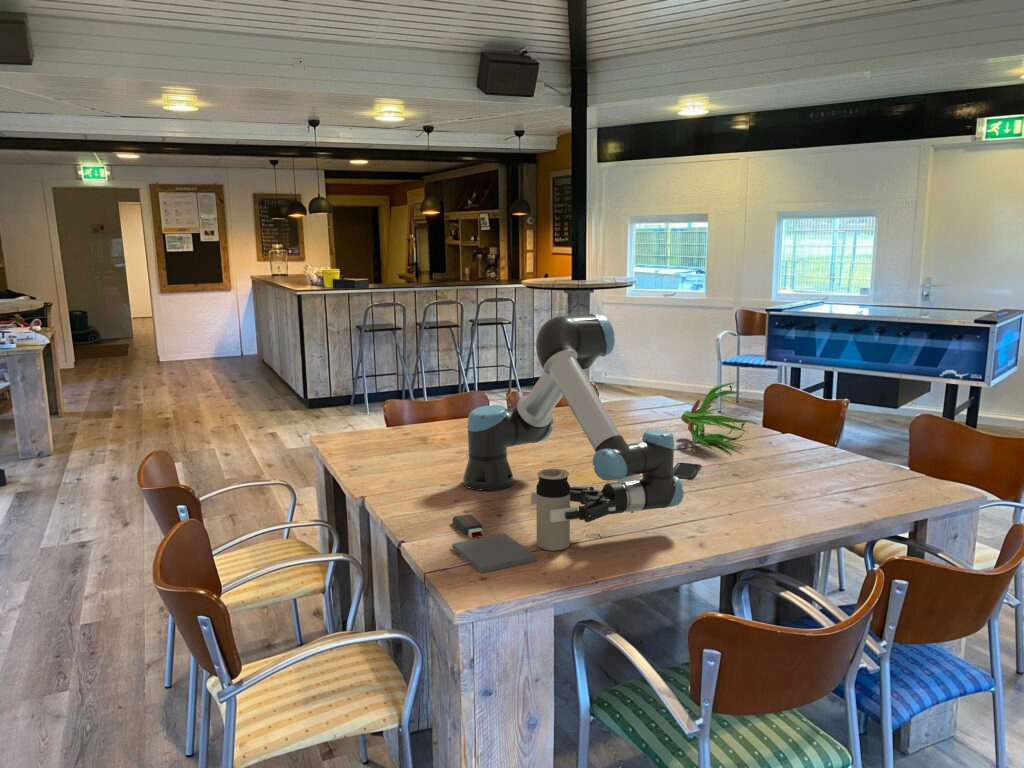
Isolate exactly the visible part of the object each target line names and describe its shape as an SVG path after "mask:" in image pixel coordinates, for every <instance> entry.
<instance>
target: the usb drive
mask: <svg viewBox="0 0 1024 768" xmlns="http://www.w3.org/2000/svg"><path fill="white" fill-rule="evenodd" d="M453 523H454V524H455V525H456V526H455V525H454V524H453ZM452 524H453V525H454V526H455V527H456V529H457V530H458V529H459V530H460V531H461V532H462V533H463V534H465V535H464V536H466V535H469V536H470V537H471V538H470V537H469V536H468V537H469V538H470V539H473V538H472V537H476V538H480V537H479V536H482V537H485V536H484V535H485V534H484V533H485V532H484V526H483V524H482V523H481V522H480V521H479V520H478V519H477V518H476V517H475V516H473V514H470V513H469V514H462V515H455V516H453V517H452ZM459 530H458V531H459ZM460 531H459V532H460ZM461 532H460V533H461ZM462 533H461V534H462ZM463 534H462V535H463Z"/></svg>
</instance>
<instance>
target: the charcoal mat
mask: <svg viewBox="0 0 1024 768" xmlns="http://www.w3.org/2000/svg"><path fill="white" fill-rule="evenodd" d="M452 548H453V549H454V550H453V549H452V550H453V551H455V552H456V554H458V553H459V554H460V555H459V554H458V555H459V556H460V557H462V558H463V559H464V560H465V561H466V560H467V561H466V562H467V563H469V564H470V565H471V566H472V567H473V568H475V569H476V570H477V571H478V572H479V573H480V574H484V573H488V572H492V571H496V570H500V569H505V568H510V567H515V566H519V565H522V564H527V563H532V562H537V561H538V560H537V554H535V553H534V552H532V551H531V550H529V549H528V548H526V547H525V546H523V545H522V544H521V543H519V542H518V541H517V540H515V539H513V538H512V537H511V536H509V535H508V534H506V533H505V532H503V533H499V534H493V535H490V536H489V535H488V536H482V537H478V538H473V539H468V540H465V541H460V542H455V543H454V542H453V543H452Z"/></svg>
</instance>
